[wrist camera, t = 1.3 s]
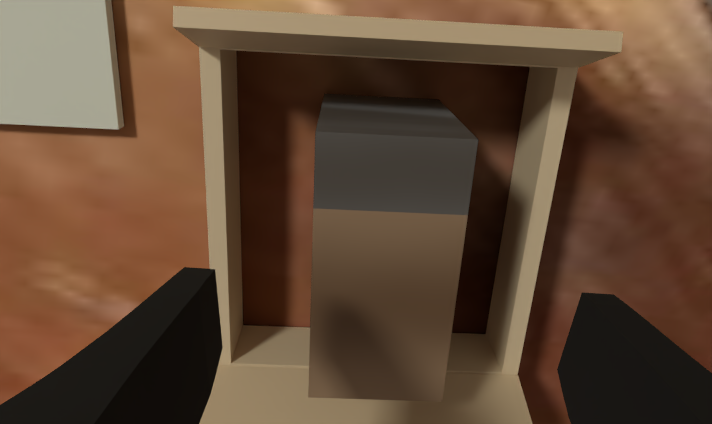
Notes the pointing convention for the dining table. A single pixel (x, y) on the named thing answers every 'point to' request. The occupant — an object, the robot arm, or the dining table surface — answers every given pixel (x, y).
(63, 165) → the dining table surface
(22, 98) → the mat
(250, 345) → the wooden box
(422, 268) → the block
